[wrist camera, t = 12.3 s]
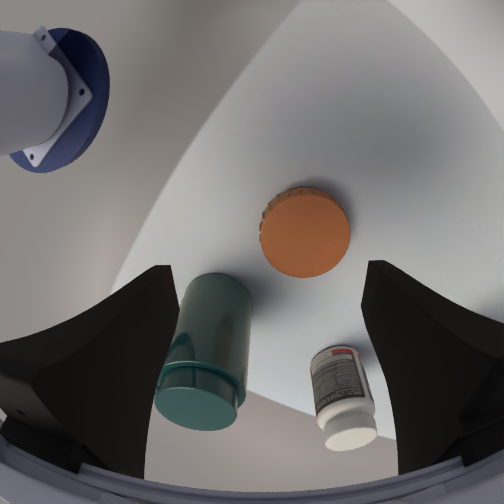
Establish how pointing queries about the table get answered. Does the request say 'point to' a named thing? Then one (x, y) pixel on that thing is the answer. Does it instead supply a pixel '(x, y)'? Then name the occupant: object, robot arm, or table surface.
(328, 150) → the table surface
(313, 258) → the lid
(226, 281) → the jar
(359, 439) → the pill bottle
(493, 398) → the robot arm
